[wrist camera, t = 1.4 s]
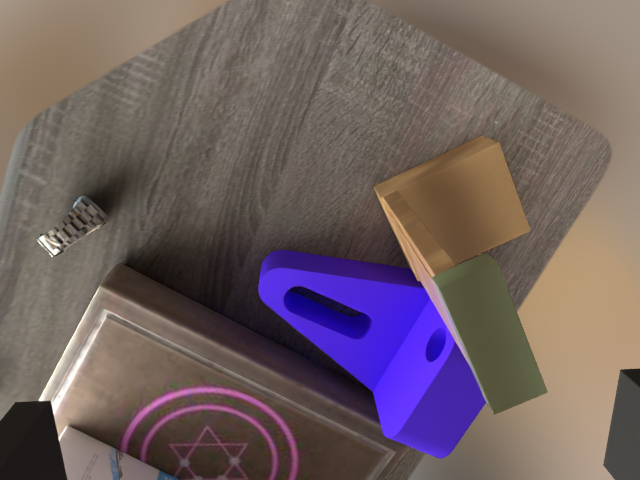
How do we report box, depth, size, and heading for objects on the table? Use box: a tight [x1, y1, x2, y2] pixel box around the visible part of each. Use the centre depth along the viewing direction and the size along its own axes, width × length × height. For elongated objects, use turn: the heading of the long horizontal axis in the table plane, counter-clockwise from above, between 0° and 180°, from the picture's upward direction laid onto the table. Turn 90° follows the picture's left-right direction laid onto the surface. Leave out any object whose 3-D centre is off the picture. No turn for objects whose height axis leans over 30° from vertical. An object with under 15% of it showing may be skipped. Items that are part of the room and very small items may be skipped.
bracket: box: [258, 250, 486, 458], centre depth 43 cm, size 18×11×12 cm, turn 63°
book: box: [39, 263, 411, 480], centre depth 50 cm, size 30×22×5 cm
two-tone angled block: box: [374, 136, 547, 414], centre depth 36 cm, size 10×8×22 cm
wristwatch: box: [37, 196, 108, 257], centre depth 43 cm, size 3×5×5 cm
